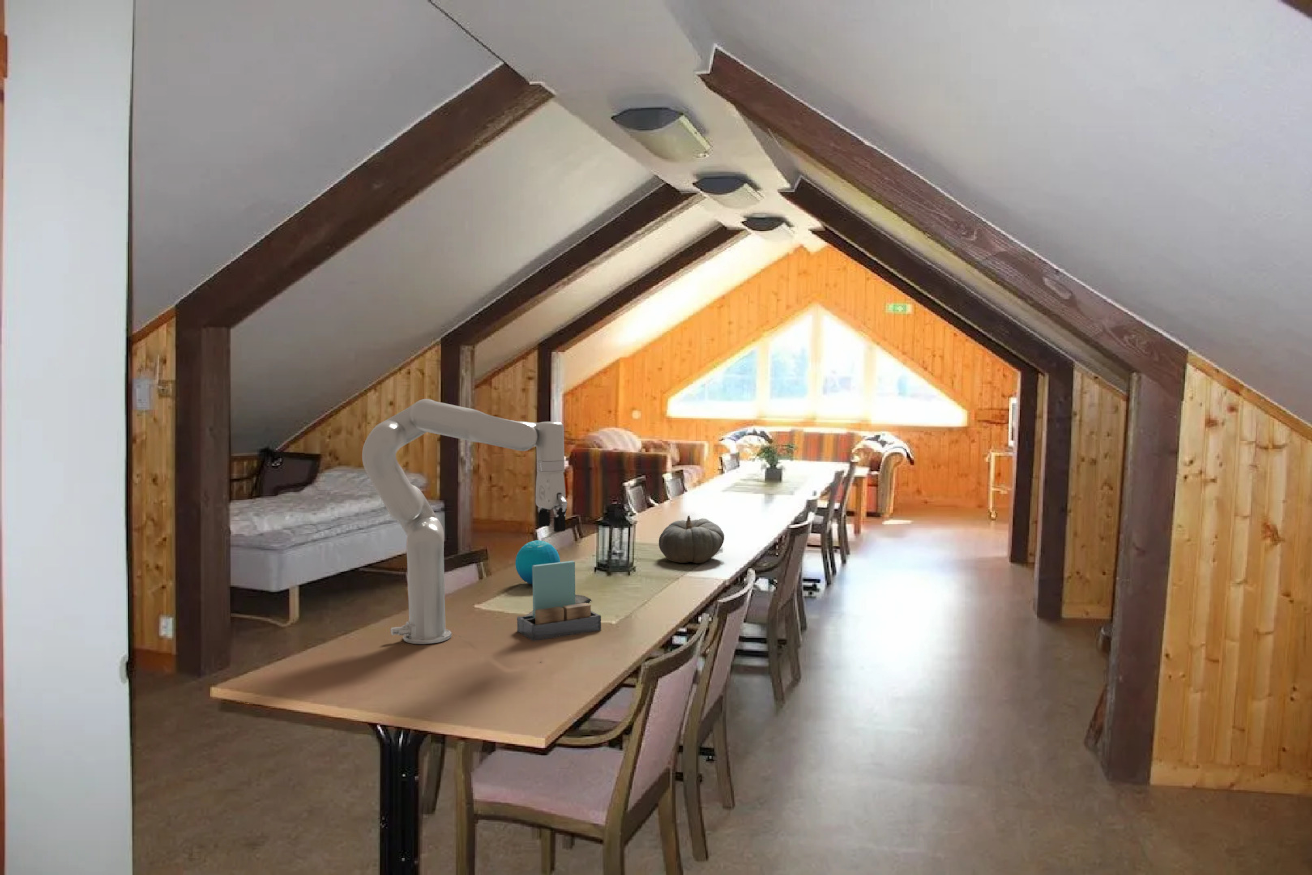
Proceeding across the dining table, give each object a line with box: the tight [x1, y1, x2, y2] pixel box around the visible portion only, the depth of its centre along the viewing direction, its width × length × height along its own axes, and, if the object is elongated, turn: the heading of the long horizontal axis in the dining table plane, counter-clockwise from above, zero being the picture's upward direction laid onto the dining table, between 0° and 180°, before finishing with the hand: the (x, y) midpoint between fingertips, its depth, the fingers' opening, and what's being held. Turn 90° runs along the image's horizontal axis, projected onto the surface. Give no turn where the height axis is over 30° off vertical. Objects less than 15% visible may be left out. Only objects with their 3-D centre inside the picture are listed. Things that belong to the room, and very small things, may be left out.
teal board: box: [532, 560, 576, 618], centre depth 259 cm, size 12×2×18 cm, turn 120°
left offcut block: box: [535, 607, 564, 625], centre depth 252 cm, size 7×3×7 cm, turn 120°
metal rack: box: [516, 610, 602, 642], centre depth 257 cm, size 20×11×5 cm, turn 120°
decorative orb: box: [515, 539, 561, 586], centre depth 317 cm, size 15×15×15 cm
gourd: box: [658, 515, 725, 564], centre depth 357 cm, size 25×25×17 cm
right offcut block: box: [563, 603, 592, 620], centre depth 256 cm, size 7×3×7 cm, turn 120°
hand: (551, 528), depth 259 cm, fingers open, 9 cm apart
